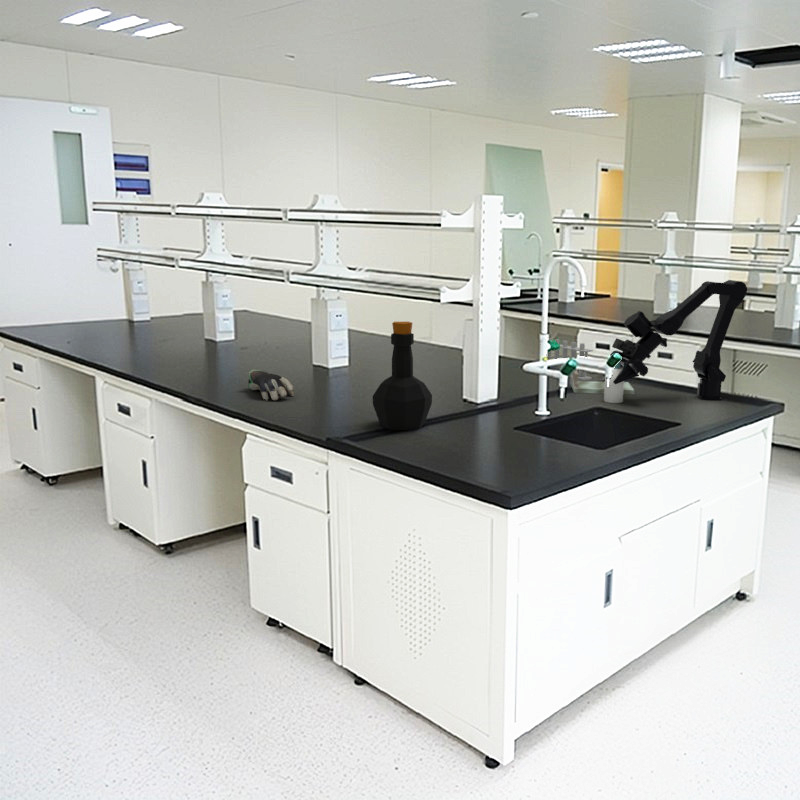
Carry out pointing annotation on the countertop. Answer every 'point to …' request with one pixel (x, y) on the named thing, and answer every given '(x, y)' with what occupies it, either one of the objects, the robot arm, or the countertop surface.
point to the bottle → (402, 387)
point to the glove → (269, 384)
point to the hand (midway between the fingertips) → (610, 381)
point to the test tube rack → (572, 354)
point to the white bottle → (614, 388)
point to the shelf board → (593, 386)
